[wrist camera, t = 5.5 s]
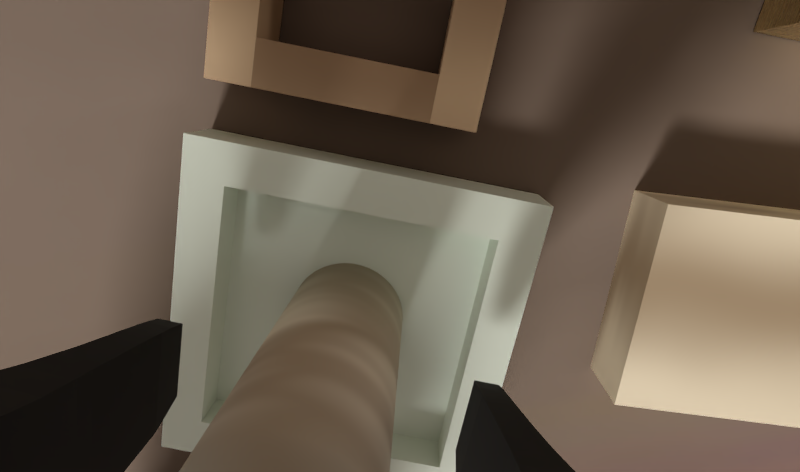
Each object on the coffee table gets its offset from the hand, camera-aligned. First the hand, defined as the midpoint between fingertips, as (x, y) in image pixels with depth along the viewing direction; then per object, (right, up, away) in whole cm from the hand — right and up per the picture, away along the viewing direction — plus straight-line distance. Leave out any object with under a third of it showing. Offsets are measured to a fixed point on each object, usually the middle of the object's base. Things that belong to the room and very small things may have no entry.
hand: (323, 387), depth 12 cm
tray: (0, +1, +4) cm, 4 cm away
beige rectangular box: (+13, +2, +4) cm, 13 cm away
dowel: (0, +1, +4) cm, 4 cm away
